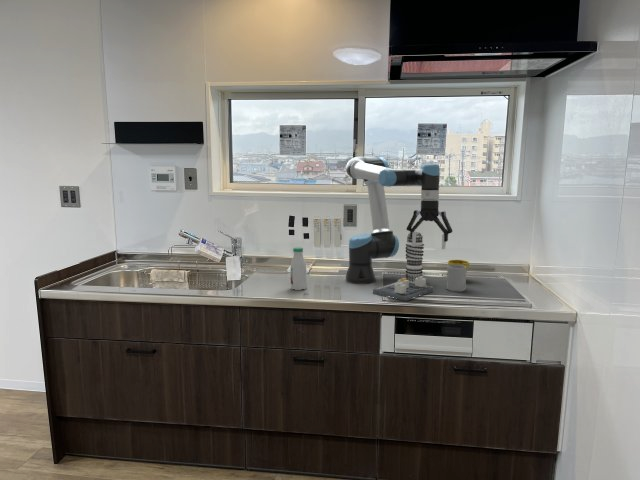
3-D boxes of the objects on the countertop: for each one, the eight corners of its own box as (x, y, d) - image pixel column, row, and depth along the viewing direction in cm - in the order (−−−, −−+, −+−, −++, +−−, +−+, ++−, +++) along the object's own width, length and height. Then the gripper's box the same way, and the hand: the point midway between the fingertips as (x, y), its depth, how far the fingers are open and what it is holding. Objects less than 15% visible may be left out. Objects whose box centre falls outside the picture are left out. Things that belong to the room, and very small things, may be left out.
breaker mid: (397, 287, 206) (397, 278, 205) (401, 286, 208) (401, 277, 207) (405, 288, 203) (405, 279, 202) (408, 287, 205) (408, 278, 205)
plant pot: (466, 283, 220) (466, 264, 219) (445, 281, 225) (445, 262, 224) (470, 279, 229) (471, 260, 228) (450, 277, 234) (450, 258, 233)
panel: (373, 293, 205) (373, 288, 204) (400, 284, 220) (401, 280, 219) (405, 301, 192) (405, 295, 192) (433, 291, 207) (433, 286, 207)
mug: (466, 291, 205) (467, 268, 204) (447, 291, 207) (448, 268, 205) (463, 285, 217) (464, 263, 215) (445, 284, 219) (446, 262, 217)
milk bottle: (309, 287, 217) (308, 247, 214) (302, 291, 210) (301, 249, 207) (295, 286, 220) (294, 246, 217) (288, 289, 213) (287, 248, 211)
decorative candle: (423, 283, 221) (424, 234, 217) (404, 283, 222) (405, 233, 219) (423, 279, 230) (424, 231, 226) (404, 279, 231) (405, 231, 228)
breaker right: (414, 285, 209) (415, 276, 208) (418, 284, 211) (418, 275, 210) (422, 287, 206) (422, 278, 205) (425, 285, 208) (426, 276, 207)
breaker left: (394, 292, 198) (394, 282, 197) (398, 291, 200) (398, 281, 199) (402, 293, 195) (402, 284, 194) (406, 292, 197) (406, 283, 196)
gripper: (399, 199, 199) (399, 246, 202) (455, 201, 185) (454, 251, 189) (406, 198, 205) (405, 244, 208) (460, 200, 191) (459, 248, 195)
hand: (428, 247), depth 198 cm, fingers open, 13 cm apart
